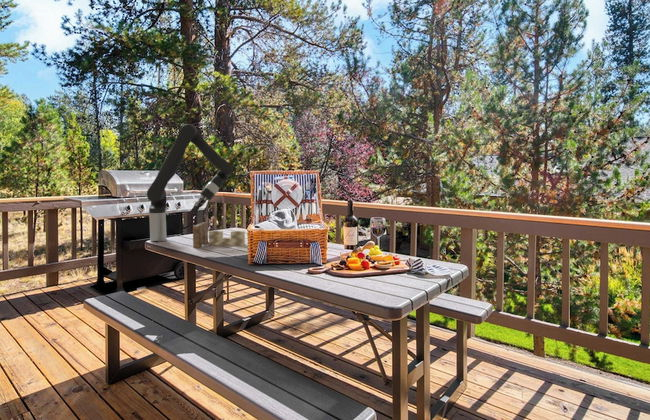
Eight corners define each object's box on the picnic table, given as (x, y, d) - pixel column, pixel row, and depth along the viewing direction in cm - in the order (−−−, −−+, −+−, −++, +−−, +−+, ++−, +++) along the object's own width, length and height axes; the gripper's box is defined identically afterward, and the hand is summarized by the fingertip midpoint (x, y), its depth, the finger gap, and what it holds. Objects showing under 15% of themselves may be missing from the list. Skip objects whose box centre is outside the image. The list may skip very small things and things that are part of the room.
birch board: (209, 245, 240) (208, 231, 240) (210, 244, 243) (210, 230, 242) (244, 245, 240) (243, 231, 239) (244, 244, 243) (244, 230, 242)
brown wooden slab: (203, 242, 251) (202, 222, 249) (208, 242, 251) (207, 222, 249) (193, 247, 233) (192, 226, 232) (198, 247, 233) (198, 226, 231)
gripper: (202, 188, 257) (185, 209, 251) (207, 185, 244) (189, 207, 239) (212, 196, 259) (195, 217, 253) (217, 193, 247) (200, 215, 241)
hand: (192, 212), depth 246 cm, fingers open, 8 cm apart
